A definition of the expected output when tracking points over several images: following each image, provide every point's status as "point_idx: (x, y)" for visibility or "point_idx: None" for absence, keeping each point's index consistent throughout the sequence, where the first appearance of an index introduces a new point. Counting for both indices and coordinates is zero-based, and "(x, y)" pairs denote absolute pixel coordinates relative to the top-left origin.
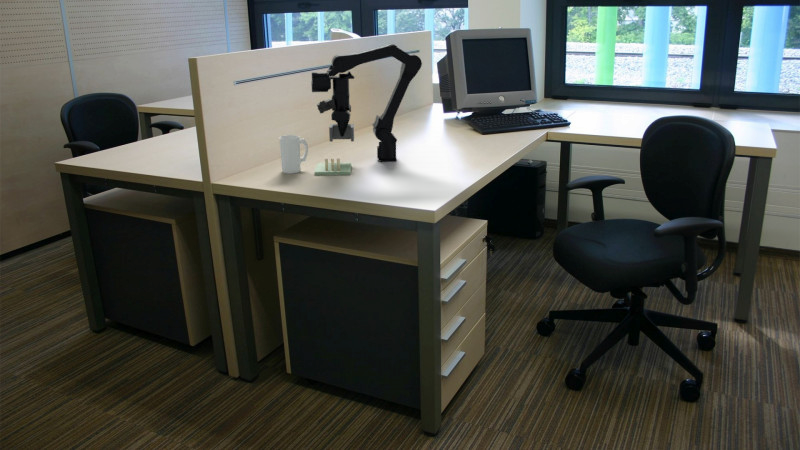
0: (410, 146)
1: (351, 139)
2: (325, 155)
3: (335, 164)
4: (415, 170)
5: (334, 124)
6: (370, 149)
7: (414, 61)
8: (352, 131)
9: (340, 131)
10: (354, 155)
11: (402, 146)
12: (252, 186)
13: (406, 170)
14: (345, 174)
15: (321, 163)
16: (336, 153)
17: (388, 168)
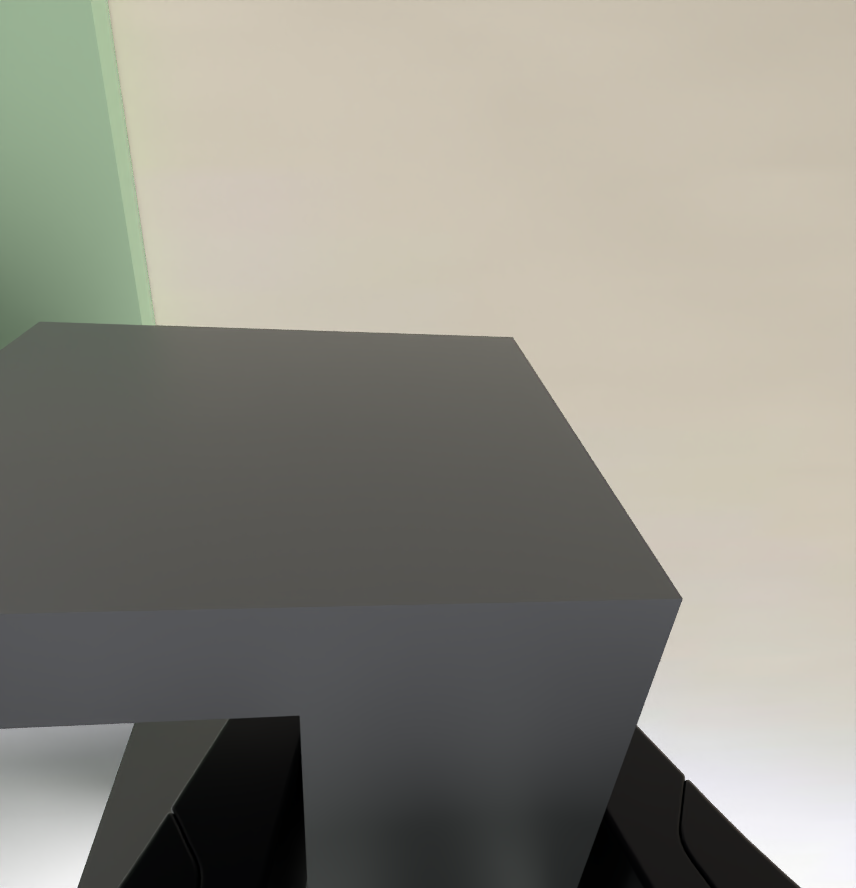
0: (781, 832)
1: (124, 760)
2: (754, 128)
3: (37, 297)
4: (67, 885)
5: (530, 754)
6: (819, 617)
7: None
8: None
9: (239, 726)
10: (634, 492)
11: (805, 797)
12: None
13: (55, 847)
14: None
15: (63, 53)
16: (803, 291)
17: (99, 754)
